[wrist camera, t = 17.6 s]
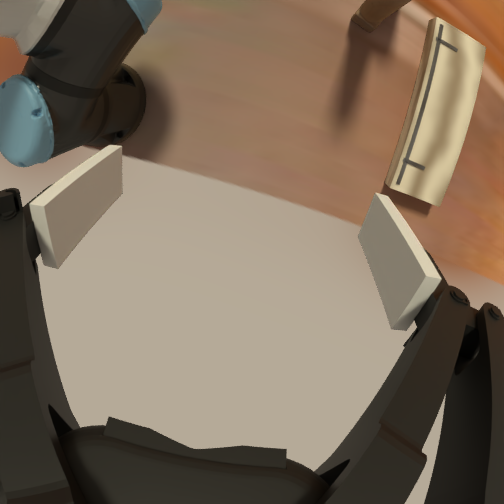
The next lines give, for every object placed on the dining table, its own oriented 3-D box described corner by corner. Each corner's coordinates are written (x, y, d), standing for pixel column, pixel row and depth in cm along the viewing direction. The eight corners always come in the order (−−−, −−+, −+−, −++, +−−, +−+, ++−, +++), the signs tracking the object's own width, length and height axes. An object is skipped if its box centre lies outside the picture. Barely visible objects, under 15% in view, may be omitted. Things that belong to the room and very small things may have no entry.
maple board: (384, 182, 45) (390, 188, 42) (429, 20, 30) (437, 16, 27) (432, 200, 45) (439, 207, 42) (476, 48, 30) (486, 47, 27)
